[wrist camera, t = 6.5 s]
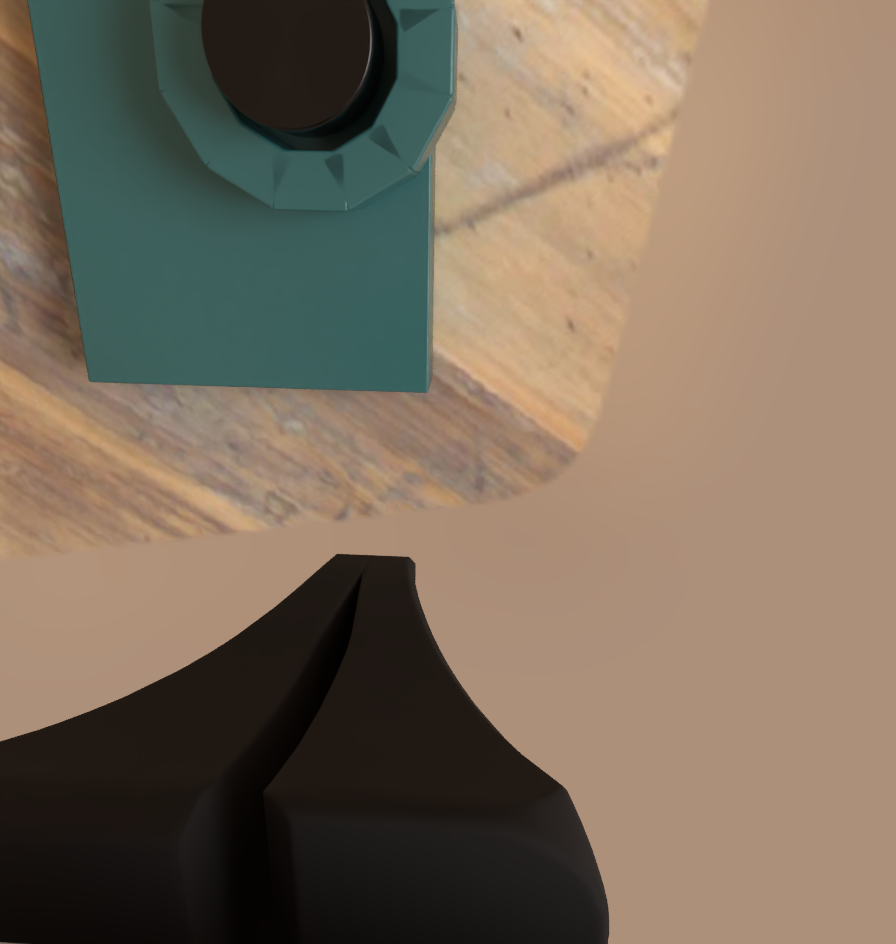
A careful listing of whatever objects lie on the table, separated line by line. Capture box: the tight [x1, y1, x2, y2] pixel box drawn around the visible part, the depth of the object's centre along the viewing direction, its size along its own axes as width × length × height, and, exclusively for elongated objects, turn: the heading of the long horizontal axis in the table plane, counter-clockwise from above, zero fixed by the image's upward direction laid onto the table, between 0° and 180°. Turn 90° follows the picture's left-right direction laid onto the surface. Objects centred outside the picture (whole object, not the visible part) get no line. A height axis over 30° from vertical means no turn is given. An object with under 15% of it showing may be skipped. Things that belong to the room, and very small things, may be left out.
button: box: [201, 0, 384, 138], centre depth 14 cm, size 3×3×2 cm
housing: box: [27, 0, 458, 393], centre depth 17 cm, size 12×10×4 cm
